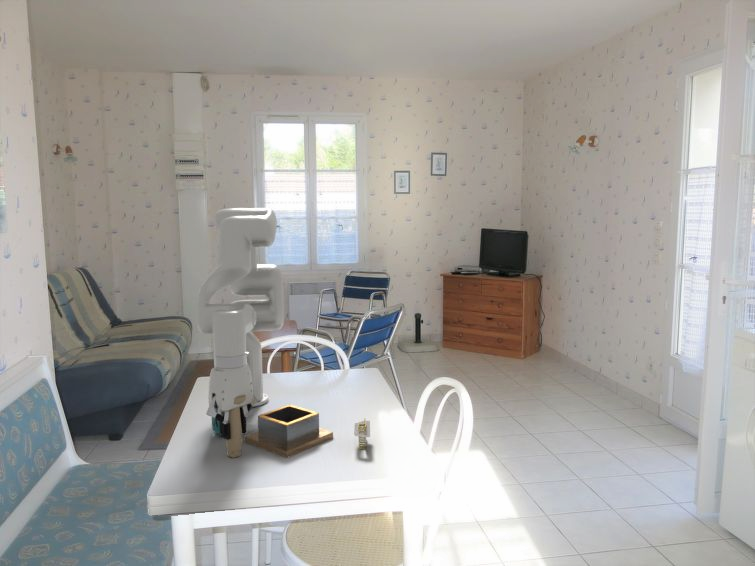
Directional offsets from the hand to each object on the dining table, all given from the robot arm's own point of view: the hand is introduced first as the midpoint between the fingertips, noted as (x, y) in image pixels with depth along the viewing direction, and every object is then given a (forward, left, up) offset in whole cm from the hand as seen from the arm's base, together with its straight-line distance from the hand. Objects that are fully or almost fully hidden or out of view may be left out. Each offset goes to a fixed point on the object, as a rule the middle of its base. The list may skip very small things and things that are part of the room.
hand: (233, 434), depth 145 cm
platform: (+20, +24, -6) cm, 32 cm away
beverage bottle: (-13, +7, -5) cm, 16 cm away
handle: (0, 0, -5) cm, 5 cm away
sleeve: (+3, +15, -5) cm, 16 cm away
